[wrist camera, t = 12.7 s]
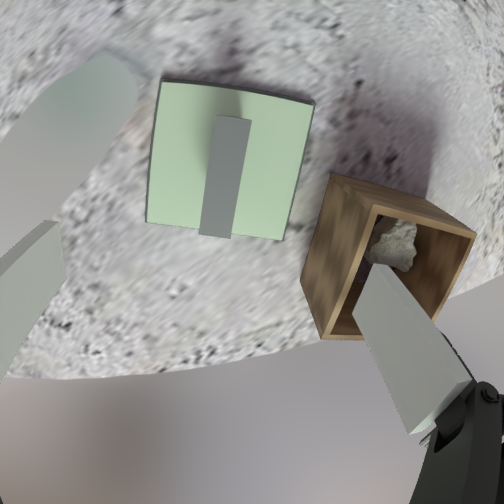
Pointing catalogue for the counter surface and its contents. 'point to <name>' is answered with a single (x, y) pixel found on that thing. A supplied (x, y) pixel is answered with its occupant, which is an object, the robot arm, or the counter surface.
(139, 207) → the counter surface
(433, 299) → the crate
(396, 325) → the robot arm
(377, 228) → the stone
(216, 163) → the lid
